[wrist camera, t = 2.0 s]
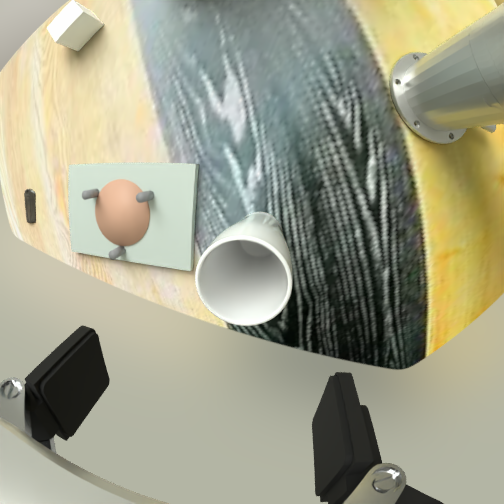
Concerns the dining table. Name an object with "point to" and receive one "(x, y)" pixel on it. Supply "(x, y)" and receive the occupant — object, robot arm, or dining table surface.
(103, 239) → the pin nest plate
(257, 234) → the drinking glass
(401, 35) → the dining table surface
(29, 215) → the block
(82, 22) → the white cube
